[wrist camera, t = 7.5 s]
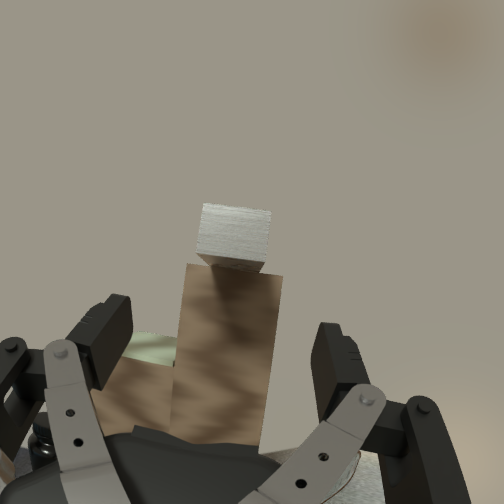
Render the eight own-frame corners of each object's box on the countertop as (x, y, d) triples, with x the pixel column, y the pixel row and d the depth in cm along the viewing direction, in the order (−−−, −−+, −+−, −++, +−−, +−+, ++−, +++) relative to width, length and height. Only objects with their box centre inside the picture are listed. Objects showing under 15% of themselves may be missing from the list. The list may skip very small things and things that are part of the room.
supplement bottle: (93, 491, 27) (87, 420, 29) (73, 516, 20) (60, 440, 22) (52, 473, 27) (44, 403, 29) (28, 494, 20) (13, 417, 22)
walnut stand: (100, 525, 21) (102, 251, 26) (133, 474, 35) (148, 266, 39) (238, 555, 21) (283, 275, 26) (239, 494, 35) (269, 283, 39)
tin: (340, 476, 41) (351, 437, 42) (356, 481, 39) (367, 441, 40) (285, 512, 31) (297, 467, 32) (303, 521, 29) (316, 476, 30)
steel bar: (195, 252, 18) (203, 202, 18) (222, 277, 39) (225, 254, 40) (265, 262, 18) (271, 211, 18) (253, 281, 39) (256, 258, 40)
